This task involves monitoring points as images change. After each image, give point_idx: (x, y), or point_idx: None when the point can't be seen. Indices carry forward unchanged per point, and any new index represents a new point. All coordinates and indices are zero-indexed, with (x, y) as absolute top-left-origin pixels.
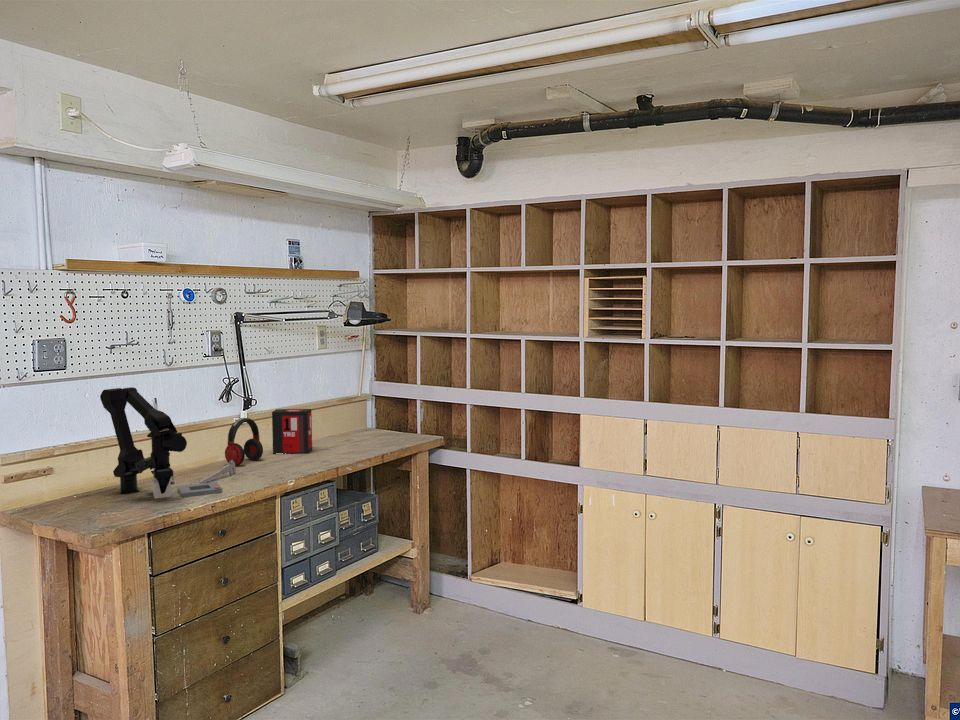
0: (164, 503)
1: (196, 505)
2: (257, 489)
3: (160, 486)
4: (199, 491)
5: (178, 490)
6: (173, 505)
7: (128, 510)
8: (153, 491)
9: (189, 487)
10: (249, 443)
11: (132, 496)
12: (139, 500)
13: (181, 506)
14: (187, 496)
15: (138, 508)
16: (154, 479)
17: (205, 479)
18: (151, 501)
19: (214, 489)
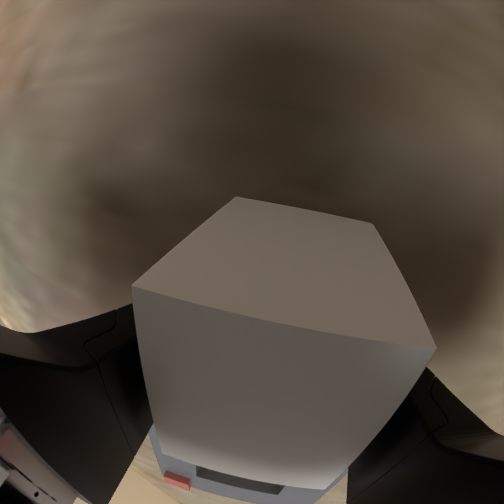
0: (53, 222)
1: (12, 319)
2: (165, 492)
3: (129, 313)
4: (149, 436)
5: None
6: (16, 250)
7: (35, 10)
8: (340, 234)
9: None
10: None
11: (475, 58)
12: (252, 47)
13: (3, 271)
14: None
15: (32, 57)
16: (415, 377)
17: None
18: (139, 145)
19: (159, 466)
